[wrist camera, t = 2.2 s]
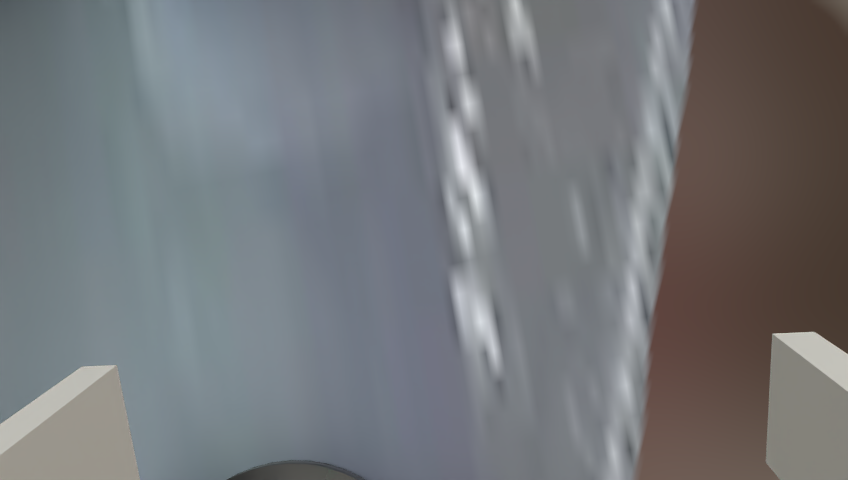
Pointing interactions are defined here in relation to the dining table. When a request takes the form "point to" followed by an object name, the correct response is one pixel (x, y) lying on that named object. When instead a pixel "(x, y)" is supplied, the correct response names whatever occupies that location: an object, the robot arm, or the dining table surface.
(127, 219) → the dining table surface
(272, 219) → the dining table surface
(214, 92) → the dining table surface
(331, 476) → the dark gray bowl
